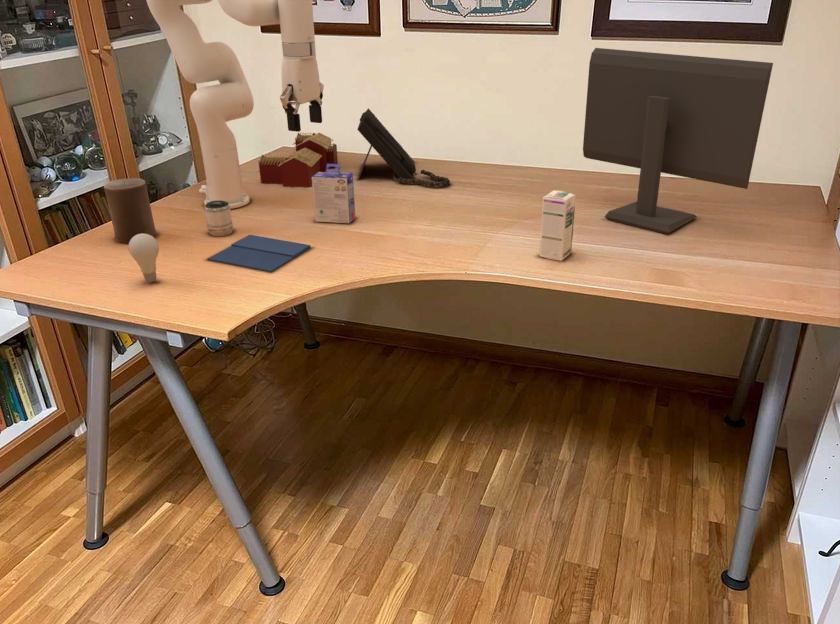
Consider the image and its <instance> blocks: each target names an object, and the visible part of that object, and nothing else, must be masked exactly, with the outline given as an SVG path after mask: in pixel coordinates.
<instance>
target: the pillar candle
mask: <svg viewBox="0 0 840 624" xmlns="http://www.w3.org/2000/svg"><path fill="white" fill-rule="evenodd" d="M103 189H104V193H105V198H106V202H107V207H108V210H109V215H110V218H111V224H112V228H113V232H114V237H115V240H116V241H118V243H122V244H129V242H130V240H131V239H132V238H133V237H134V236H135V235H137V234H149V235H151V236H152V237H154V238H155V237H156V236H157V231H156V227H155V226H156V225H155V221H154V216H153V211H152V207H151V203H150V198H149V193H148V188H147V183H146V181H145V179H143V178H136V177H135V178H123V177H122V178H121V179H115V180H110V181H108V182H107V183H105V184H104V185H103Z"/></svg>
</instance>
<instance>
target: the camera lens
mask: <svg viewBox="0 0 840 624" xmlns="http://www.w3.org/2000/svg"><path fill="white" fill-rule="evenodd" d="M204 214H205V220H206V221H205V222H206V225H207V226H206V227H207V230H208V232H209V234H210V236H213V237H225V236H228V235H231V234H232V233H233V228H234V223H233V216H232V209H230V204H229V203H228V202H226V201H211V202H209V203H207V204H206V205H205V204H204Z"/></svg>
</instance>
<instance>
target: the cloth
mask: <svg viewBox="0 0 840 624" xmlns="http://www.w3.org/2000/svg"><path fill="white" fill-rule="evenodd" d="M310 249H311V244H308V243H307V244H305V243H300V242H295V241H289V240H285V239H284V240H283V239H279V238H272V237H265V236H260V235H254V234H247V235H246V236H244V237H242V238H241V239H240V238H239V240H236V241H235V242H232V243H231V244H230V246H228V247H226V248H225V249H223V250H220V251H219V252H217V253H215V254H212V256H210V257H207V261H210V262H216V263H221V264H227V265H232V266H235V267H241V268H245V269H246V268H247V269H252V270H258V271H262V272H268V273H273V272H274V271H276V270H277V269H280V268H282V267H283V266H285V265H286V264H287V263H289V262H290V261H292V260H294V259H295V258H297V257H299V256H300V255H302V254H303V253H305V252H306V251H309V250H310Z"/></svg>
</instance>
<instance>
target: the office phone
mask: <svg viewBox="0 0 840 624" xmlns="http://www.w3.org/2000/svg"><path fill="white" fill-rule="evenodd" d="M357 131H358V133H360V135H361V136H362V137H363V138H364V139H365V140H366V141H367V143H369V145H370V147H369V148H368V151H367V153H366V156H365V158H364V160H363V163H362V166H361V170H360V173H359V177H358V178H360V177H361V175H362V172H363V169H364V167H365V165H366V162H367V160H368V157H369V155H370V153H371V150H372V148H373V150H375V152H376V153H377V154H378V155H379V156H380V157H381V158H382V160H384V162H385V163H386V164H387V165H388V166H389V167H390V168H391V170H392V171H393V173H392V174H393V180H395V181H396V182H399V183H401V185H402V184H403V185H404V184H406V185H408V184H409V185H412V184H413V185H415V184H417V185H425V186H426V187H427V186H429V187H432V188H435V187H436V188H440V187H448V186H449V185H450V182H451V180H450V179H449V178H448V177H445V176H440V175H436V174H434V173H433V172H431V171H429V170H428V171H427V170H425V169H421V170H420V173H417V169H416V164H415V160H414V159H413V158H412V156H411V155H410V154H408V152H407V151H406V150H405V149H404V148H403V146H402V145H401V144H400V142H398V141H397V140H396V138H395V137H394V136H393V135H392V134H391V133H390V131H389V130H388V129H387V127H386V126H384V125H383V124H382V122H381V121H380V120H379V119H378V116H377V117H376V115H375V114H374V113H373V111H372V110H371V109H370V107H369V108H367V109H366V111H364V112H362V114H361V116H360V118H359V123H358V127H357ZM395 174H396V175H397V176H398V178H397V177H396V176H395ZM414 175H422V176H427V177H428V178H430V179H431V180H433V181H431V180H425V179H420V178H418V179H417V178H414Z"/></svg>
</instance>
